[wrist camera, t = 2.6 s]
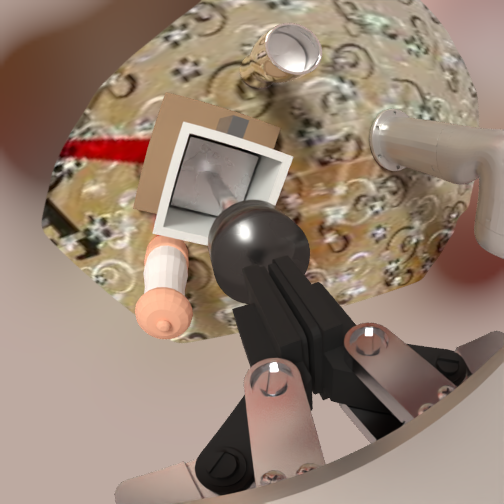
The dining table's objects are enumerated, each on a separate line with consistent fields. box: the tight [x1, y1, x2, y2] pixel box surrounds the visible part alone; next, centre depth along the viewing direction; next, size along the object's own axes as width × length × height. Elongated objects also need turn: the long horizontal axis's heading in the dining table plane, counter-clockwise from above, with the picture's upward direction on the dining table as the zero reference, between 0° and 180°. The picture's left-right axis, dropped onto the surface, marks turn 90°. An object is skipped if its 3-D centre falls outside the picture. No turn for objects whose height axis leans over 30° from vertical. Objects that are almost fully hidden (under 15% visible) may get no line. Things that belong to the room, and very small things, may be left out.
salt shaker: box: [135, 235, 193, 339], centre depth 38 cm, size 7×7×19 cm
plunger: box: [171, 137, 310, 304], centre depth 21 cm, size 8×8×20 cm
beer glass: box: [240, 23, 322, 88], centre depth 30 cm, size 7×7×15 cm
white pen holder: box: [133, 93, 293, 246], centre depth 32 cm, size 18×18×20 cm
